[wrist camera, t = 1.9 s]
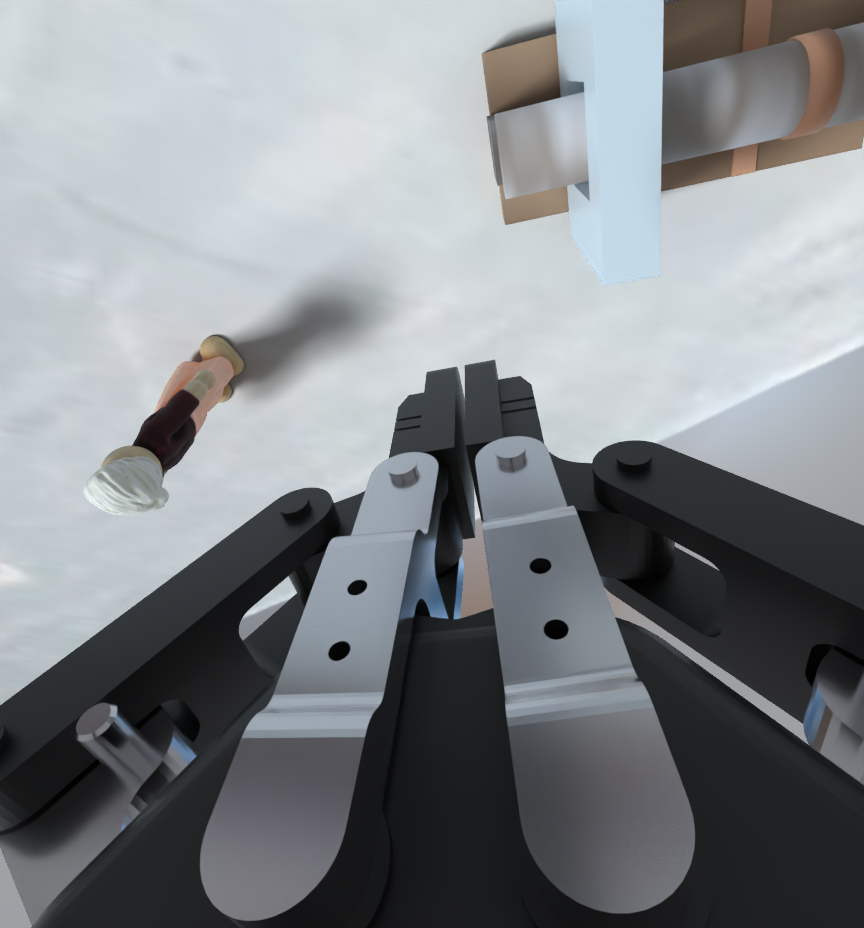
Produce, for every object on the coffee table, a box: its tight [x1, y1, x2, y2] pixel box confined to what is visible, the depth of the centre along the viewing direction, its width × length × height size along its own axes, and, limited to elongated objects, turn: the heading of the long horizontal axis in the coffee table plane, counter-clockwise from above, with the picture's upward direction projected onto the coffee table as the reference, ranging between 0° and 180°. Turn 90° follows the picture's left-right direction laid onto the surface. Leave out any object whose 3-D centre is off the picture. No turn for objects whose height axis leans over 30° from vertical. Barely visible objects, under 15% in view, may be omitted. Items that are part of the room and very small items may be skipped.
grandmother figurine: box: [83, 336, 244, 515], centre depth 30 cm, size 8×4×13 cm, turn 156°
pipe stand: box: [482, 0, 864, 225], centre depth 22 cm, size 7×16×8 cm, turn 102°
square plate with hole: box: [554, 0, 664, 286], centre depth 21 cm, size 9×2×8 cm, turn 12°
